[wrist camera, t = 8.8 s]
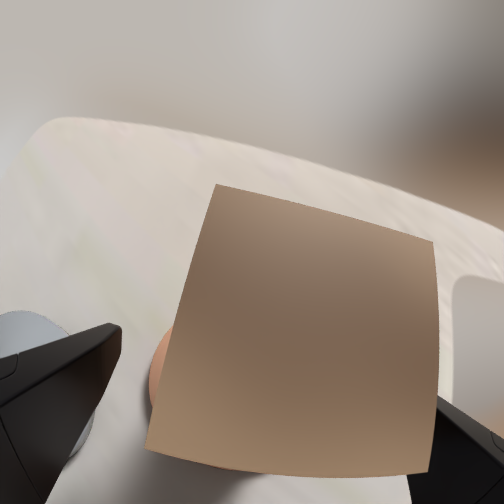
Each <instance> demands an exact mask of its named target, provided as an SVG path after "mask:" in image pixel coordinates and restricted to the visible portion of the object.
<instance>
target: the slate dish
mask: <svg viewBox="0 0 504 504" xmlns="http://www.w3.org/2000/svg"><path fill="white" fill-rule="evenodd" d="M68 336H70V335H69V334H68V333H67V332H66V331H64V330H63V329H62V328H61V327H59V326H58V325H56V324H55V323H53V322H52V321H50V320H49V319H47V318H46V317H44V316H41V315H39V314H37V313H33V312H29V311H12V312H8V313H5V314H2V315H0V358H3V357H6V356H9V355H12V354H15V353H17V354H18V353H19V352H22V351H25V350H28V349H31V348H34V347H37V346H40V345H43V344H46V343H49V342H52V341H55V340H59V339H62V338H65V337H68ZM94 414H95V411H94V412H93V414H92V416H91V418H90V420H89V421H88V423H87V425H86V427H85V428H84V430H83V432H82V434H81V436H80V438H79V439H78V441H77V443H76V445H75V447H74V449H73V450H72V452H71V454H70V456H69V458H70V457H71V456H72V455H74V454H75V453H76V452H77V451H78V450H79V449H80V448H81V446H82V445H83V444H84V442H85V440H86V439H87V437H88V435H89V432H90V430H91V427H92V424H93V420H94Z"/></svg>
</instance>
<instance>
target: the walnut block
mask: <svg viewBox="0 0 504 504" xmlns="http://www.w3.org/2000/svg"><path fill="white" fill-rule="evenodd" d="M438 375H439V310H438V291H437V278H436V267H435V257H434V248H433V242H431V241H428V240H425V239H422V238H419V237H415V236H412V235H409V234H406V233H402V232H399V231H396V230H392V229H389V228H386V227H382V226H379V225H376V224H372V223H369V222H365V221H362V220H358V219H355V218H351V217H347V216H344V215H340V214H336V213H333V212H329V211H325V210H322V209H318V208H314V207H310V206H306V205H302V204H298V203H295V202H291V201H287V200H282V199H278V198H274V197H270V196H266V195H262V194H258V193H253V192H249V191H245V190H240V189H236V188H231V187H227V186H222V185H218V184H216V185H215V188H214V191H213V194H212V197H211V200H210V204H209V207H208V210H207V213H206V216H205V219H204V222H203V226H202V229H201V232H200V235H199V238H198V242H197V245H196V248H195V252H194V255H193V258H192V262H191V265H190V268H189V272H188V275H187V279H186V282H185V286H184V289H183V293H182V296H181V300H180V303H179V307H178V310H177V314H176V318H175V321H174V325H173V329H172V333H171V336H170V340H169V344H168V348H167V352H166V356H165V360H164V364H163V368H162V372H161V376H160V380H159V384H158V388H157V392H156V397H155V401H154V405H153V410H152V414H151V419H150V423H149V428H148V432H147V437H146V442H145V447H144V449H147V450H151V451H154V452H158V453H161V454H165V455H169V456H173V457H177V458H181V459H185V460H189V461H194V462H198V463H203V464H208V465H213V466H218V467H224V468H230V469H236V470H242V471H249V472H257V473H265V474H274V475H285V476H299V477H319V478H363V477H383V476H396V475H407V474H416V473H424V472H428V467H429V461H430V455H431V449H432V442H433V434H434V426H435V417H436V406H437V393H438Z"/></svg>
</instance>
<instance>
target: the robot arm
mask: <svg viewBox="0 0 504 504" xmlns="http://www.w3.org/2000/svg"><path fill="white" fill-rule="evenodd" d="M121 344H122V329H121V327H120V326H118V325H115V324H112V323H106V324H103V325H100V326H97V327H94V328H91V329H88V330H85V331H82V332H79V333H76V334H73V335H70V336H68V337H65V338H62V339H59V340H55V341H52V342H49V343H46V344H43V345H40V346H37V347H34V348H31V349H28V350H25V351H22V352H19V353H18V354H17V353H15V354H12V355H9V356H6V357H3V358H0V504H45V503H46V501H47V499H48V497H49V495H50V493H51V491H52V489H53V487H54V485H55V483H56V481H57V479H58V477H59V475H60V473H61V471H62V469H63V467H64V465H65V464H66V462H67V460H68V458H69V456H70V454H71V452H72V450H73V449H74V447H75V445H76V443H77V441H78V439H79V438H80V436H81V434H82V432H83V430H84V428H85V427H86V425H87V423H88V421H89V420H90V418H91V416H92V414H93V412H94V411H95V409H96V407H97V405H98V404H99V402H100V400H101V398H102V396H103V394H104V392H105V390H106V388H107V385H108V383H109V380H110V378H111V376H112V373H113V371H114V369H115V366H116V364H117V362H118V359H119V357H120V354H121ZM406 476H407V480H408V485H409V490H410V496H411V501H412V504H504V439H503V438H501V437H500V436H498V435H496V434H495V433H493V432H492V431H490V430H489V429H487V428H486V427H484V426H483V425H481V424H480V423H478V422H477V421H475V420H474V419H472V418H471V417H469V416H468V415H466V414H465V413H463V412H462V411H460V410H459V409H457V408H456V407H454V406H453V405H451V404H450V403H449V402H447V401H446V400H444V399H443V398H441V397H440V396H438V395H437V406H436V417H435V426H434V434H433V442H432V449H431V455H430V461H429V467H428V472H424V473H416V474H407V475H406Z"/></svg>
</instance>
